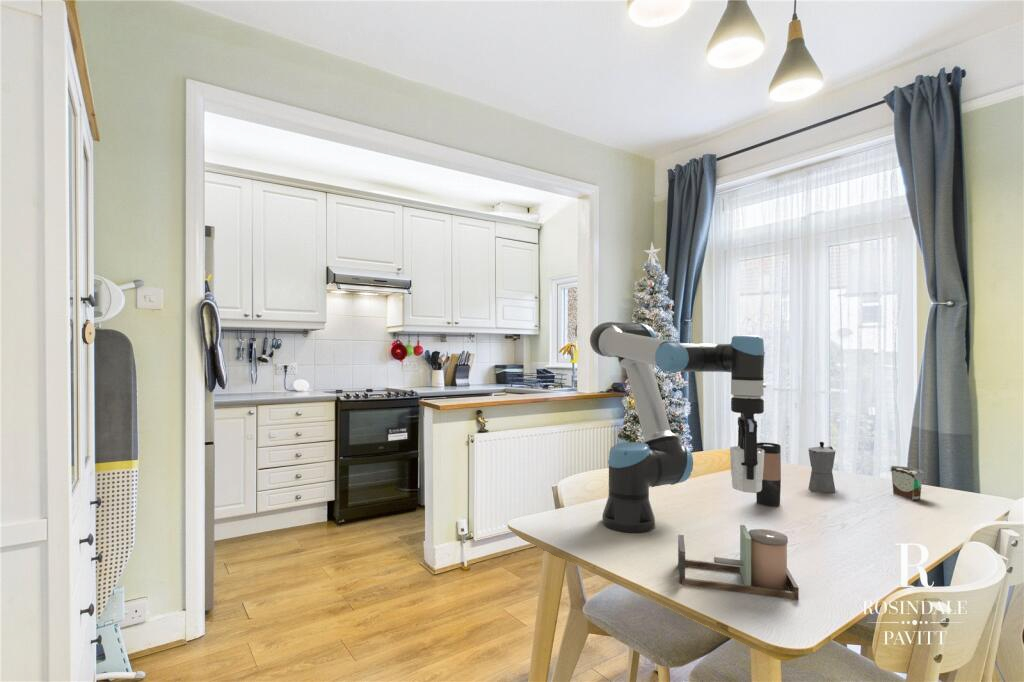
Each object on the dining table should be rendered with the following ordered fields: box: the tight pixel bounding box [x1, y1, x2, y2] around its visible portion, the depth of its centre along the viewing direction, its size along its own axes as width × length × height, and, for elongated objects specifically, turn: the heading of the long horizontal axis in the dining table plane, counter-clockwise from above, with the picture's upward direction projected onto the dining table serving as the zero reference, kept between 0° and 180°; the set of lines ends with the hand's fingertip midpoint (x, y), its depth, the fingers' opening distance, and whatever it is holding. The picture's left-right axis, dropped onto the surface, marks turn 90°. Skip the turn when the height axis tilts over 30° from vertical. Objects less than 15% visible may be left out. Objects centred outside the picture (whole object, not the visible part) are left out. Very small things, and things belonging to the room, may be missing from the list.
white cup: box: [729, 445, 764, 492], centre depth 130 cm, size 8×8×10 cm
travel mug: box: [755, 442, 782, 507], centre depth 175 cm, size 8×8×20 cm
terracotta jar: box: [748, 528, 789, 591], centre depth 113 cm, size 8×8×11 cm
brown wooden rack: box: [677, 534, 800, 601], centre depth 115 cm, size 23×12×7 cm, turn 73°
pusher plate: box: [713, 524, 752, 586], centre depth 115 cm, size 7×9×11 cm
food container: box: [889, 465, 925, 502], centre depth 184 cm, size 12×6×10 cm, turn 179°
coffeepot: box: [808, 441, 837, 494], centre depth 194 cm, size 15×9×18 cm, turn 126°
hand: (746, 487), depth 129 cm, fingers closed on white cup, 7 cm apart
